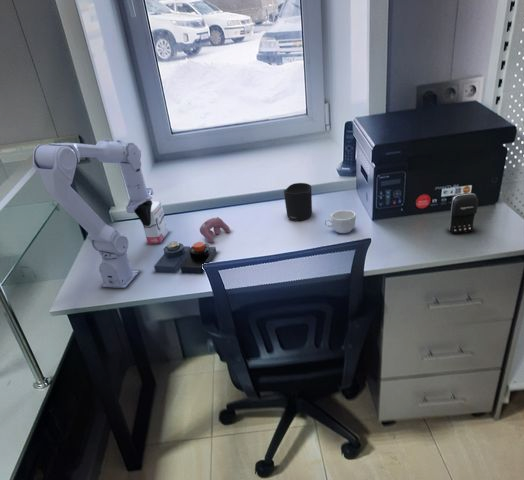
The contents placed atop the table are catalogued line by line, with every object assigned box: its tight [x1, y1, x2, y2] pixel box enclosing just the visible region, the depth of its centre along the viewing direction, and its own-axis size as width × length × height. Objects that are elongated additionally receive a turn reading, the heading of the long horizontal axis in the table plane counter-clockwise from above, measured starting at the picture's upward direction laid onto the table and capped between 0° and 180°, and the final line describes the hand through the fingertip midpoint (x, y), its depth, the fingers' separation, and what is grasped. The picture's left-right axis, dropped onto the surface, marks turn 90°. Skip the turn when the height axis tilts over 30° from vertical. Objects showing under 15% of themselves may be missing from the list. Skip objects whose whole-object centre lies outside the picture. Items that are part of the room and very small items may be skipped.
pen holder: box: [283, 182, 313, 222], centre depth 172 cm, size 9×9×10 cm
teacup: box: [324, 209, 357, 234], centre depth 161 cm, size 10×8×5 cm
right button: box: [192, 241, 205, 252], centre depth 157 cm, size 4×4×2 cm
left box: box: [153, 242, 191, 274], centre depth 159 cm, size 13×7×4 cm, turn 164°
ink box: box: [142, 200, 169, 245], centre depth 172 cm, size 9×5×12 cm, turn 168°
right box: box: [179, 243, 218, 275], centre depth 157 cm, size 13×7×4 cm, turn 164°
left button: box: [166, 241, 179, 251], centre depth 159 cm, size 4×4×2 cm
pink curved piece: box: [199, 216, 231, 243], centre depth 170 cm, size 10×5×7 cm, turn 141°
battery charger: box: [448, 192, 479, 234], centre depth 149 cm, size 7×4×11 cm, turn 90°
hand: (147, 224), depth 160 cm, fingers closed
